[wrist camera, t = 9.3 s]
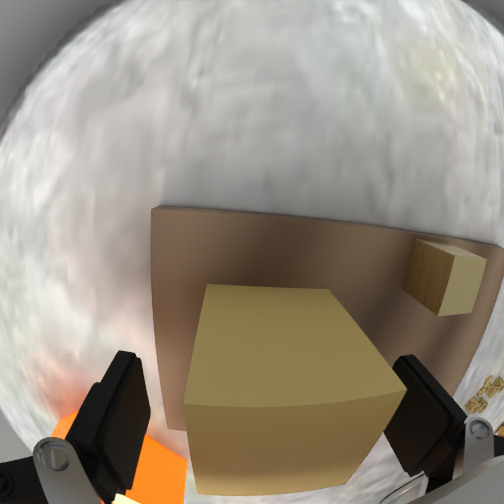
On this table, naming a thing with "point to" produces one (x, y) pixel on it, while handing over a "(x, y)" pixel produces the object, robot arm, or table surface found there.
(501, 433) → the pyrite
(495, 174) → the table surface
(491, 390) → the set of tan pieces
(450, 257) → the wooden stub
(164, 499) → the orange juice
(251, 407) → the tan rectangular block
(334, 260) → the board
